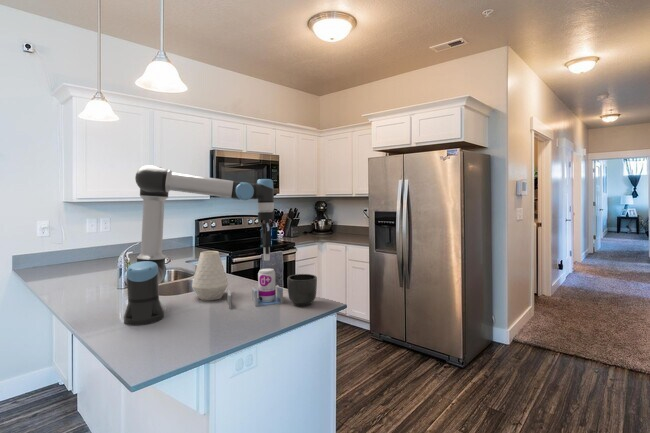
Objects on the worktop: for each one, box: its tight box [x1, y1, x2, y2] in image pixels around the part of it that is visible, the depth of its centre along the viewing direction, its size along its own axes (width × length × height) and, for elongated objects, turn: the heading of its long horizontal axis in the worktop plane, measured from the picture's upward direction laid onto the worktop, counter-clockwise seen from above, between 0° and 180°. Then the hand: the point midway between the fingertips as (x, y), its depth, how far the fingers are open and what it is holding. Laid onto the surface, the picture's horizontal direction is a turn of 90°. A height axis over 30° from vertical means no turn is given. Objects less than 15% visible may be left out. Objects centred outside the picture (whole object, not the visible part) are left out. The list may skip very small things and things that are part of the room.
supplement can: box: [257, 268, 277, 302], centre depth 180 cm, size 8×8×15 cm
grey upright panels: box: [226, 284, 284, 310], centre depth 178 cm, size 25×12×7 cm, turn 108°
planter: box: [286, 273, 318, 307], centre depth 175 cm, size 14×14×13 cm
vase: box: [191, 250, 229, 302], centre depth 187 cm, size 17×17×23 cm
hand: (266, 260), depth 179 cm, fingers closed
